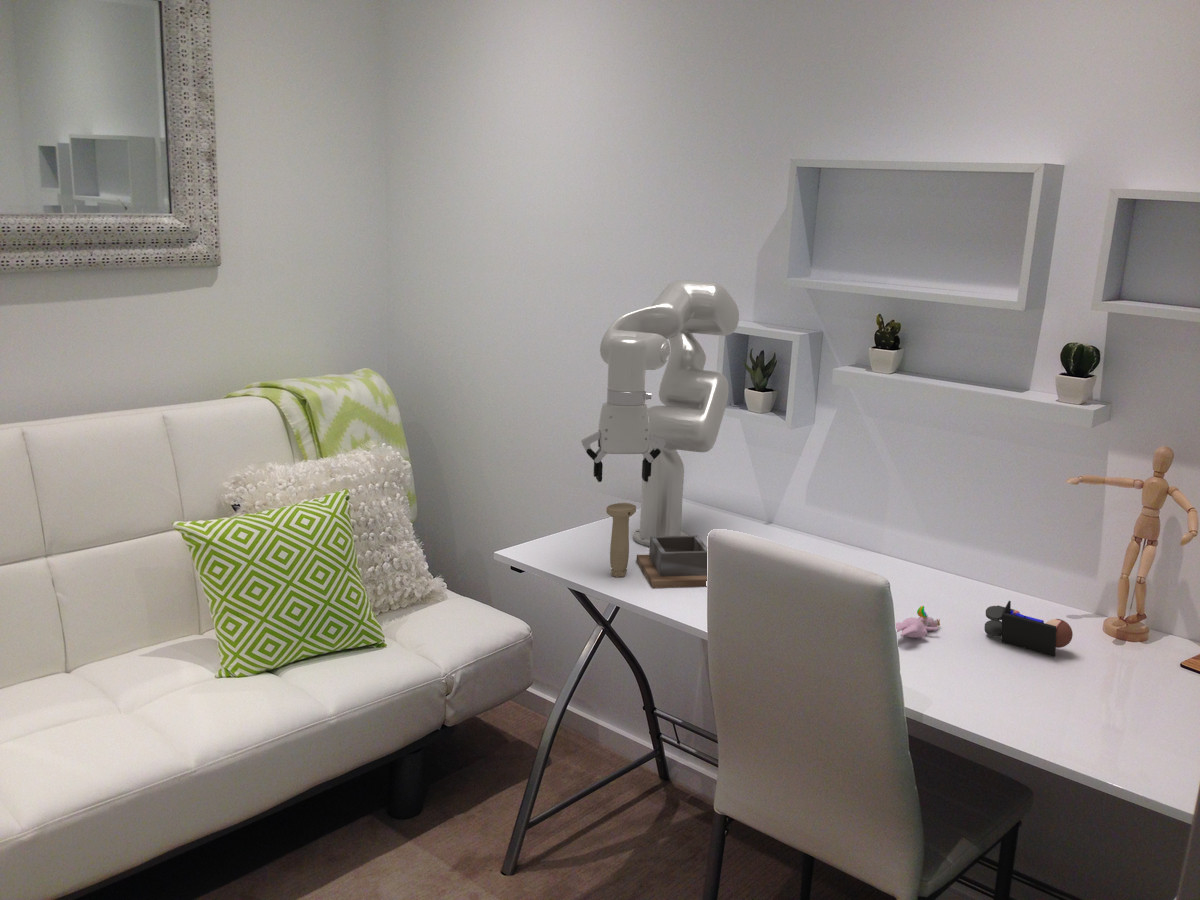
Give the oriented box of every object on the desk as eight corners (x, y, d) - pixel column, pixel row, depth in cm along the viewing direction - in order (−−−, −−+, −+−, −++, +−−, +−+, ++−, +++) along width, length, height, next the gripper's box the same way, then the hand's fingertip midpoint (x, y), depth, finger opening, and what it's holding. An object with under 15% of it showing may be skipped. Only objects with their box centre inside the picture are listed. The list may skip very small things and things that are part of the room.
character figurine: (989, 630, 198) (1072, 655, 188) (975, 639, 192) (1060, 665, 183) (995, 591, 196) (1079, 614, 187) (982, 599, 190) (1067, 623, 181)
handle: (637, 575, 219) (640, 507, 215) (615, 581, 215) (618, 512, 211) (621, 568, 223) (624, 501, 219) (599, 575, 218) (602, 506, 215)
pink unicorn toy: (915, 627, 201) (879, 637, 189) (921, 597, 200) (885, 606, 189) (946, 637, 197) (911, 648, 185) (952, 607, 196) (917, 616, 185)
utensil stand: (636, 561, 227) (637, 533, 226) (702, 559, 230) (704, 531, 228) (652, 588, 212) (653, 558, 210) (723, 586, 215) (725, 556, 213)
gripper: (663, 395, 215) (658, 475, 219) (580, 394, 212) (577, 475, 216) (671, 401, 207) (667, 484, 211) (586, 401, 204) (583, 485, 208)
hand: (622, 480), depth 213 cm, fingers open, 9 cm apart
